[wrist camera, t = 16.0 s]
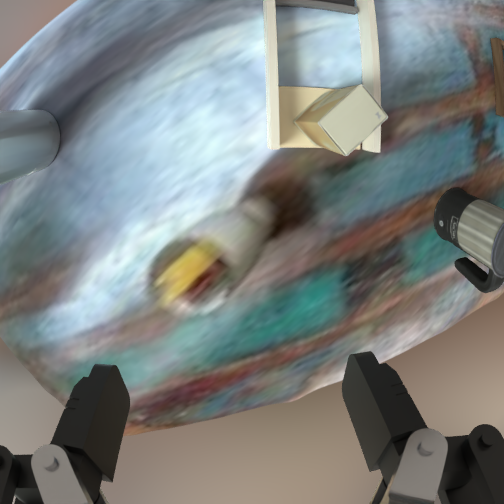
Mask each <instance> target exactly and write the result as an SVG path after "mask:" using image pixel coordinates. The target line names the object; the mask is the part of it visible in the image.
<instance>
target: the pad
mask: <svg viewBox="0 0 504 504" xmlns="http://www.w3.org/2000/svg"><path fill="white" fill-rule="evenodd" d="M278 89H279V137H280V147H306V148H323V147H320V146H317V145H314V144H313V143H312V142H311V141H310V140H309V139H308V138H307V137H306V136H305V135H304V134H303V133H302V131H301V130H300V129H299V128H298V127H297V126H296V125H295V124H294V123H293V121H294V119H295V118H297V117H298V116H299V115H300V114H301V113H302V112H303V111H304V110H305V109H306V108H307V107H308V106H309V105H310V104H311V103H313V102H314V101H315V100H316V99H317V98H319V97H320V96H321V95H322V94H324V93H325V92H329V91H333V90H337V89H325V88H311V87H287V86H278ZM355 149H360V145H359V146H357V147H356V148H355Z"/></svg>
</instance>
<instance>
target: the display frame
mask: <svg viewBox="0 0 504 504" xmlns="http://www.w3.org/2000/svg"><path fill="white" fill-rule="evenodd" d="M490 40H491V47H492V55H493V64H494V76H495V94H496V115H499V116H502V117H504V61H503V52H502V50H504V41H502V40H501V39H499V38H492V39H490Z"/></svg>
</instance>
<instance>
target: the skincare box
mask: <svg viewBox="0 0 504 504" xmlns="http://www.w3.org/2000/svg"><path fill="white" fill-rule="evenodd" d="M387 118H388V116H387V114H386V113H385V112H384V110H383V109H382V108H381V106H380V105H379V104H378V102H377V101H376V100H375V98H374V97H373V96H372V95H371V94H370V92H369V91H368V90H367V89H366V88H365V87H364V86H363V85H362V84H360V85H355V86H351V87H346V88H342V89H337V90H333V91H329V92H325V93H324V94H322V95H321V96H320V97H319V98H317V99H316V100H315V101H314V102H313V103H311V104H310V105H309V106H308V107H307V108H306V109H305V110H304V111H303V112H302V113H301V114H300V115H299V116H298V117H297V118H295V119H294V121H293V123H294V124H295V125H296V126H297V127H298V128H299V129H300V130H301V131H302V133H303V134H304V135H305V136H306V137H307V138H308V139H309V140H310V141H311V142H312V143H313V144H314V145H317V146H320V147H323V148H325V149H328V150H331V151H334V152H336V153H339V154H341V155H344V156H348V155H349V154H350V153H351V152H352V151H353V150H354V149H355V148H356V147H357V146H359V145H360V144H361V143H362V142H363V141H364V140H365V139H366V138H367V137H368V136H369V135H370V134H371V133H372V132H373V131H375V130H376V129H377V128H378V127H379V126H380V125H381V124H382V123H383V122H384V121H385V120H386V119H387Z"/></svg>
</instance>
